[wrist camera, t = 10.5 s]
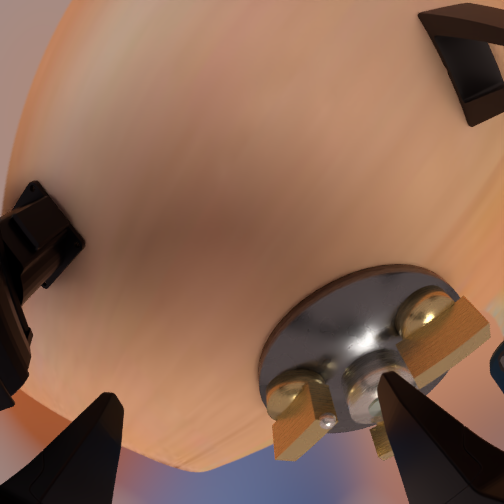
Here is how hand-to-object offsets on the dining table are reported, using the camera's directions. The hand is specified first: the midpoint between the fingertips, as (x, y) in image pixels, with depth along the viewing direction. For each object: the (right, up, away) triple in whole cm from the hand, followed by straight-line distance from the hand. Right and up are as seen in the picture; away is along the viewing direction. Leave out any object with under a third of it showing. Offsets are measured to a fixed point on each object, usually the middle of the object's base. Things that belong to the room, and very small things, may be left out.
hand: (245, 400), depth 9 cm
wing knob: (+4, -7, +15) cm, 17 cm away
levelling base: (+11, -5, +16) cm, 20 cm away
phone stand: (+16, +19, +5) cm, 25 cm away
